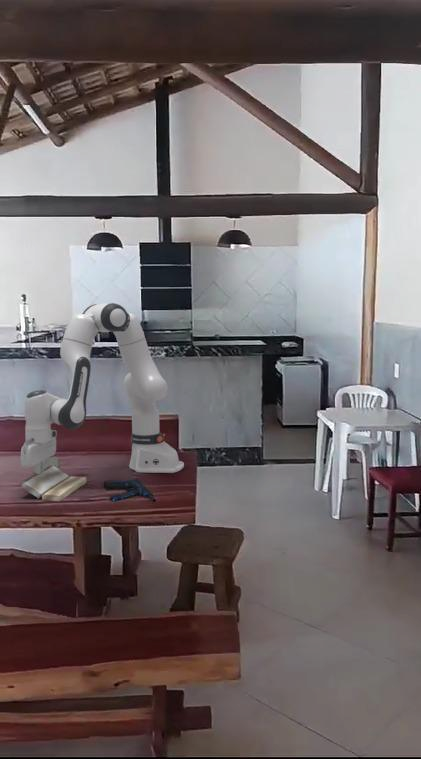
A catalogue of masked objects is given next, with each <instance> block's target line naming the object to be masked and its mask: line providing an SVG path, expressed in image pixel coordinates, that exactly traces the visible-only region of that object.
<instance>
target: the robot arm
mask: <svg viewBox="0 0 421 759" xmlns="http://www.w3.org/2000/svg"><path fill="white" fill-rule="evenodd" d="M109 332H112V333H113V334H114V337H115V338H116V341H117V342H116V343H117V345H118V349H119V352H120V355H121V358H122V362H123V364H124V366H126V368H127V369H128V370H127V371H129V373H127V374H126V375H125V377H124V380H123V387H124V390H125V391H126V395H127V398H128V401H129V402H128V404H129V407H130V411H131V412H130V413H131V429H132V432H131V435H130V442H131V456H130V461H129V464H128V467H129V469H131V470H134V471H135V472H136V473H147V474H148V473H152V474H155V473H162V474H163V473H164V474H165V473H166V474H174V473H177V472H180V471H181V470H182V469H184V468H185V463H184V462H183V461H181V460H180V459H179V455H178V452H177V450H176V449H175V448H173V446H171V445H169V444H168V443H167V442H165V437H166V436H165V435H166V433H161V431H160V412H159V410H158V408H157V406H156V403H155V402H159V401H162V400H163V399H164V398H165V397H166V395H167V393H168V390H169V389H168V388H169V387H168V384H167V382H166V380H165V379H164V377H162V375H161V373H160V372H159V369H158V367H157V365H156V364H155V362H154V359H153V357H152V355H151V353H150V349H149V346H148V342H147V340H146V337H145V333H144V330H143V327H142V325H141V323H140V320H139V319H138V317H137V316H136V315H135V314H134V313H131V312H127V310H126V309H125V308H124V306H122V305H121V304H118V303H115V302H114V303H113V302H112V303H110V302H101V303H98V304H97V303H95V304H91V305H89V306H88V307H87V308H85V309H84V310H83V312H82V313H76V314H73V315H72V317H71V318H70V320H69V322H68V324H67V326H66V328H65V332H64V335H63V338H62V341H61V345H60V349H59V350H60V351H59V355H60V358H61V360H62V362H63V363H64V364H65V365H66V366H67V367H68V369H69V370H70V373H71V382H70V387H69V388H70V390H69V394H68V398H64V397H59V396H56V395H53V394H52V393H50V392H48V391H47V390H44V389H43V390H33V391H31V392H29V393H28V394H26V397H25V401H24V419H25V426H24V428H25V429H24V431H25V441H24V443H23V445H22V446H21V450H20V465H21V467H22V468H32V467H33V469H34V468H35V473H36V474H40V473H42V472H43V467H44V464H45V459H47V458H50V457H51V456H52V457H54V456H55V455H56V451H57V435H58V433H57V430H55V429H51V427H52V426H51V425H52V424H56V425H58V426H59V425H60V426H62V427H65V428H66V429H69V430H75V429H78V428H79V427H81V426H82V425H83V424H84V423H85V420H86V418H87V398H88V397H87V396H88V390H89V385H90V377H91V366H92V365H91V354H92V348H93V343H94V340H95V338H96V335H97V334H98V333H109ZM35 473H34V474H35Z"/></svg>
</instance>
